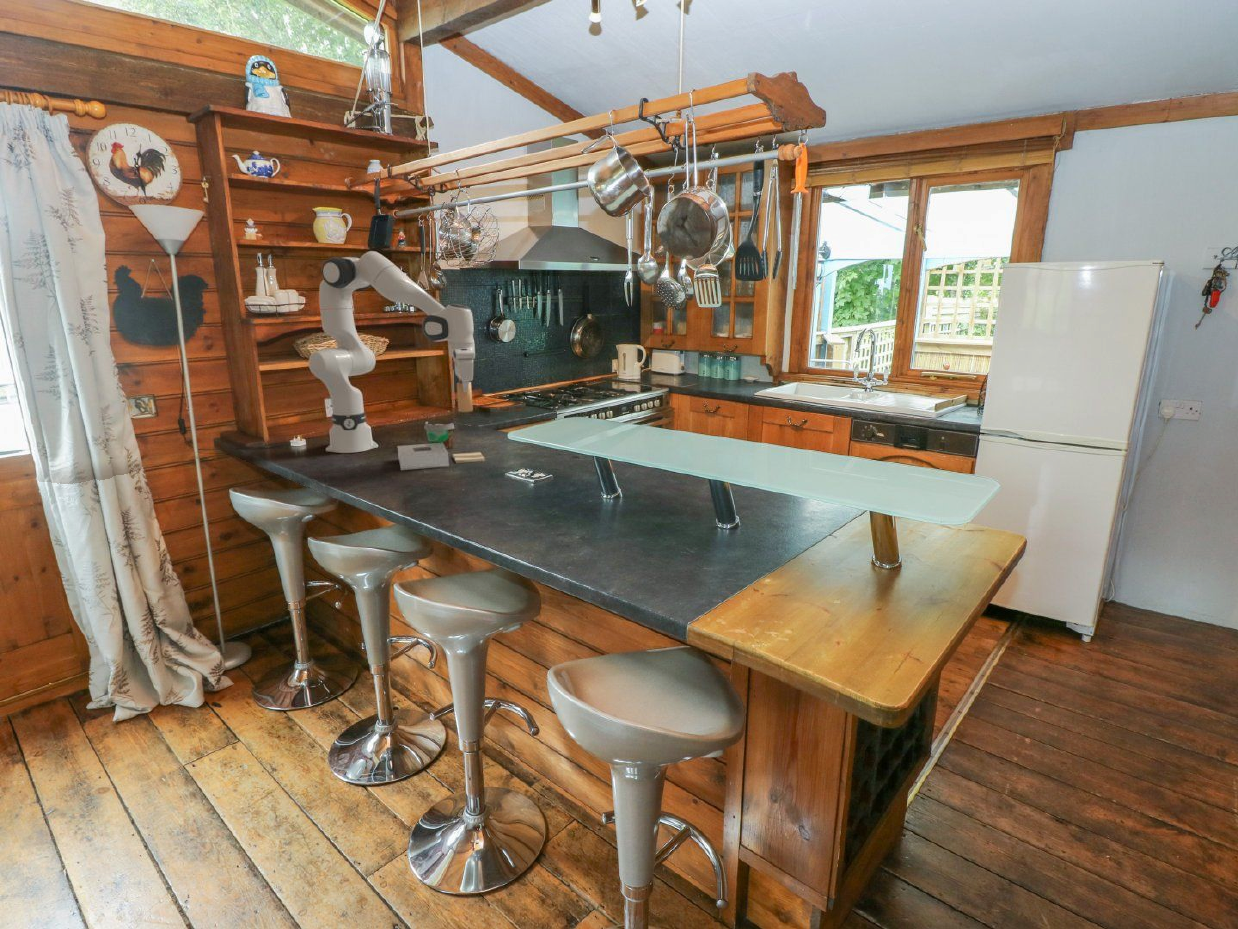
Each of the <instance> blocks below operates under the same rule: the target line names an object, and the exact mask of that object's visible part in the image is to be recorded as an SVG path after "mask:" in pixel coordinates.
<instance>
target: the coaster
mask: <svg viewBox="0 0 1238 929" xmlns="http://www.w3.org/2000/svg"><path fill="white" fill-rule="evenodd" d="M452 457H453V459H454V462H455V463H456V464H464V463H475V462H476V463H477V462H485V460H486V458H485V457H484V455H483V454H482V453H481V451H473V452H465V453H453V454H452Z"/></svg>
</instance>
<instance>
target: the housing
mask: <svg viewBox="0 0 1238 929" xmlns="http://www.w3.org/2000/svg"><path fill="white" fill-rule="evenodd" d="M397 455H398V462H399V466H400V471H408V470H409V471H410V470H419V469H430V468H431V469H432V468H433V469H434V468H443V467H449V466H450V464H449V460H450V459H449V451H448V449H447V450H446V448H445V446H444V444H443V443H432V444H429V443H422V444H410V445H409V444H408V445H397Z"/></svg>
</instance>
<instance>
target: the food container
mask: <svg viewBox="0 0 1238 929" xmlns="http://www.w3.org/2000/svg"><path fill="white" fill-rule="evenodd" d="M423 429H424V430H425V431H426V435H427V444H432V443H443V444H444V446H445V448H446V450H447V451H448V450H451V449H453V448H454V447H453V445H454V444H453V442H454V429H455V425H454V423H453V422H452V423H446V424H444V423H429V422H428V420H427V421H426V422H425V423H424V428H423Z"/></svg>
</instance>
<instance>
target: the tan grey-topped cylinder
mask: <svg viewBox="0 0 1238 929" xmlns="http://www.w3.org/2000/svg"><path fill="white" fill-rule="evenodd" d="M472 392H473V391H472V381H469V386H468V392H463V383H462V380H460V381H459V380H458V382H457V383H456V394H457V408H458V410H457V411H458V412H460V413H470V412H473V411H474V409H473V393H472Z"/></svg>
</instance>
